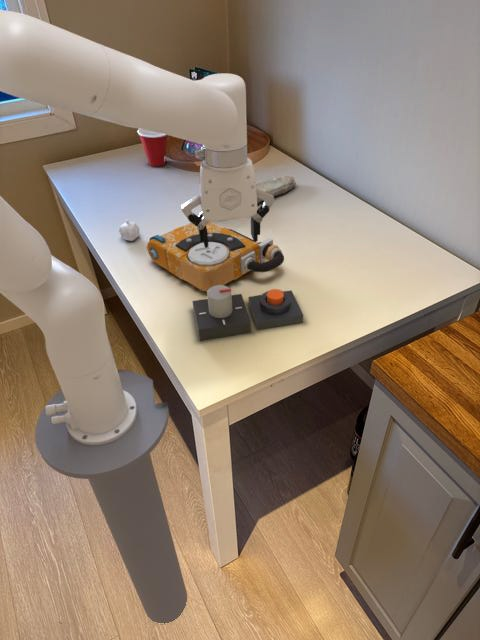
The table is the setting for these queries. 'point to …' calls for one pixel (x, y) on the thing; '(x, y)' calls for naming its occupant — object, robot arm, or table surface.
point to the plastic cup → (153, 146)
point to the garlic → (129, 230)
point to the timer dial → (219, 301)
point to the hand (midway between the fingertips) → (230, 240)
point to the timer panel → (221, 320)
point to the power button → (275, 297)
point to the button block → (275, 311)
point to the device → (212, 255)
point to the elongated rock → (276, 186)
